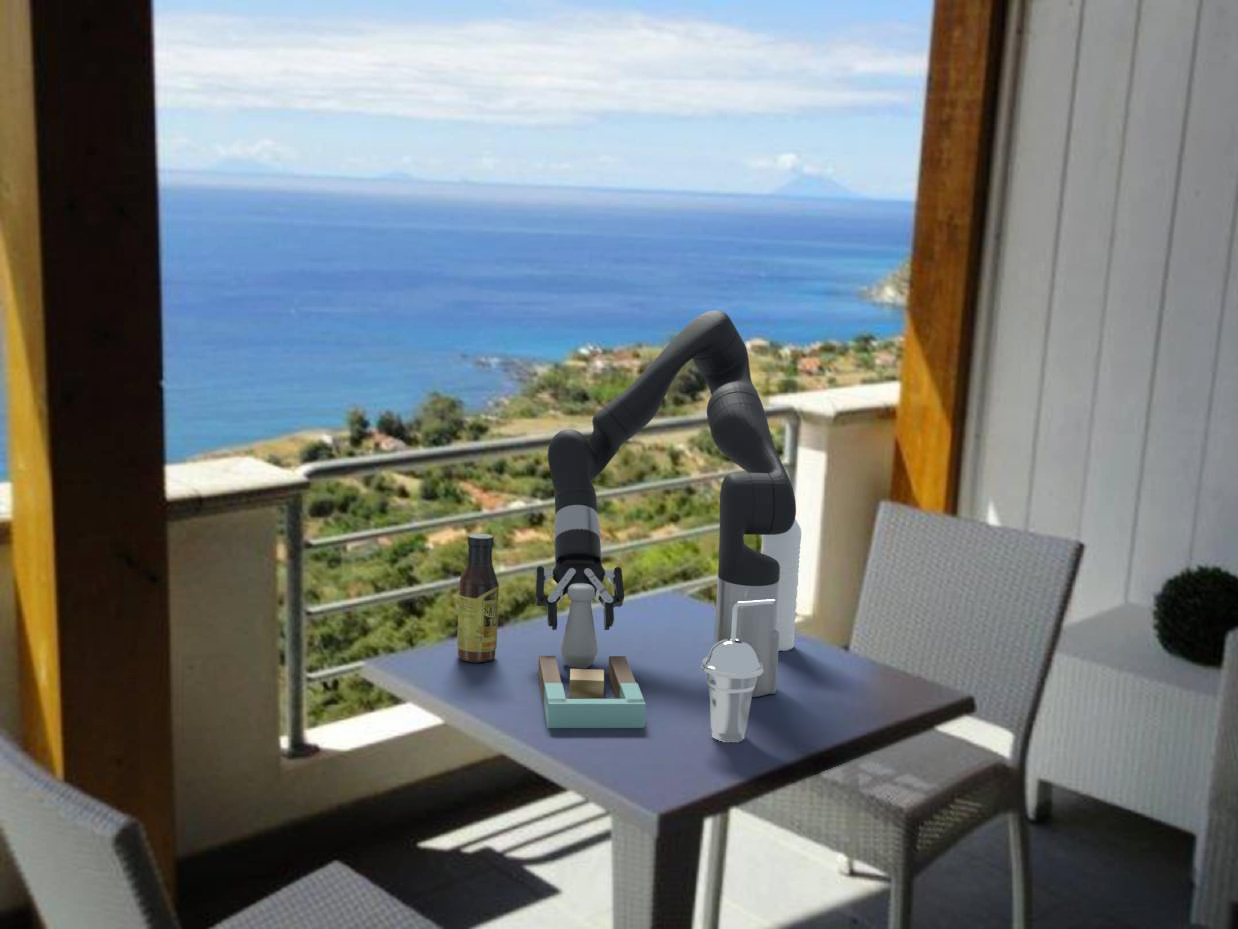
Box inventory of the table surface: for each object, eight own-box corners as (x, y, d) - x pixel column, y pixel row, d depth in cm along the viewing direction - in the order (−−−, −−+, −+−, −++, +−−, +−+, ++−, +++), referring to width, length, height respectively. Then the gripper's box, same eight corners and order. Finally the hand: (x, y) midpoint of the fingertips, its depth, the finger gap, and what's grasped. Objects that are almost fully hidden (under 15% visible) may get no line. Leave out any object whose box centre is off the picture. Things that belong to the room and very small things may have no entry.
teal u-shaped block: (636, 706, 189) (637, 683, 189) (644, 728, 181) (645, 703, 180) (543, 706, 188) (544, 683, 187) (547, 728, 179) (548, 703, 179)
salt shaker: (603, 663, 208) (607, 584, 206) (583, 672, 203) (587, 591, 201) (573, 656, 211) (576, 578, 209) (553, 665, 206) (556, 585, 204)
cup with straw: (720, 720, 185) (728, 584, 182) (774, 738, 179) (783, 597, 176) (684, 736, 179) (692, 594, 175) (739, 755, 173) (748, 608, 170)
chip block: (602, 688, 197) (603, 669, 196) (603, 700, 192) (604, 680, 192) (569, 687, 197) (570, 668, 196) (569, 699, 192) (569, 679, 191)
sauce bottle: (489, 666, 204) (493, 542, 201) (451, 662, 205) (454, 538, 202) (501, 653, 211) (505, 533, 207) (464, 649, 212) (467, 530, 208)
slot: (624, 674, 203) (625, 656, 203) (636, 706, 189) (637, 686, 189) (538, 674, 201) (538, 655, 201) (543, 706, 188) (544, 686, 187)
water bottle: (754, 639, 225) (763, 496, 220) (792, 641, 224) (802, 498, 220) (756, 654, 216) (766, 506, 212) (796, 657, 216) (806, 508, 212)
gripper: (617, 551, 218) (623, 639, 209) (532, 550, 216) (533, 638, 207) (623, 527, 212) (629, 616, 202) (535, 526, 210) (536, 616, 201)
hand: (580, 627), depth 205 cm, fingers open, 8 cm apart
